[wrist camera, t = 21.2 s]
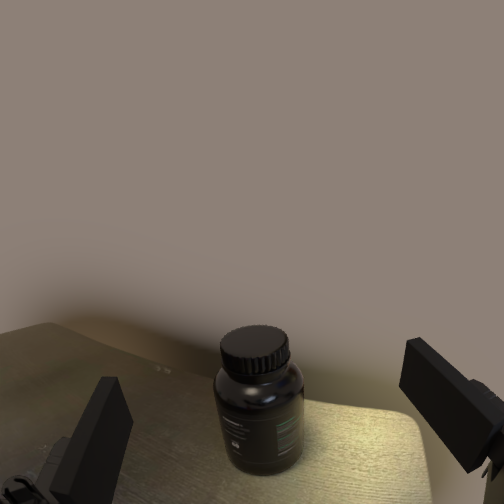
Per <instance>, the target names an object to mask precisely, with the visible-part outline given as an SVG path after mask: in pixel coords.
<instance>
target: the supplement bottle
mask: <svg viewBox="0 0 504 504" xmlns="http://www.w3.org/2000/svg"><path fill="white" fill-rule="evenodd" d="M220 349H221V356H222V357H221V362H222V367H221V368H220V370H219V371H218V373H217V374H216V376H215V379H214V383H213V390H214V396H215V401H216V406H217V411H218V416H219V421H220V425H221V430H222V434H223V439H224V443H225V447H226V451H227V455H228V457H229V459H230V461H231V462H232V463H233V464H234V465H235V466H236V467H237V468H238V469H240V470H242V471H244V472H246V473H249V474H254V475H272V474H276V473H280V472H282V471H284V470H286V469H288V468H290V467H291V466H292V465H294V464H295V463H296V462H297V460H298V459H299V457H300V456H301V454H302V450H303V441H304V381H303V375H302V373H301V371H300V369H299V368H298V366H297V365H296V364H295V363H294V362H293V361H291V360H290V359H291V358H290V357H291V355H290V350H289V339H288V337H287V334H286V333H285V332H284V331H282V330H281V329H279V328H277V327H273V326H267V325H251V326H245V327H241V328H237V329H235V330H232V331H231V332H229V333H227V334H226V335H225V336H224V337H223V338H222V339H221V342H220Z"/></svg>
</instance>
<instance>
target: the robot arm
mask: <svg viewBox="0 0 504 504" xmlns="http://www.w3.org/2000/svg"><path fill="white" fill-rule="evenodd" d="M399 387H400V389H401V390H402V391H403V392H404V393H405V395H406V396H407V397H408V399H409V400H410V401H411V402H412V404H413V405H414V406H415V407H416V408H417V410H418V411H419V412H420V413H421V415H422V416H423V417H424V419H425V420H426V421H427V422H428V423H429V425H430V426H431V427H432V429H433V430H434V431H435V432H436V434H437V435H438V436H439V438H440V439H441V440H442V441H443V442H444V444H445V445H446V447H447V448H448V449H449V450H450V452H451V453H452V454H453V455H454V457H455V458H456V459H457V461H458V462H459V463H460V465H461V466H462V467H463V469H464V470H465V471H466V472H467V474H468V473H470V472H472V471H474V470H475V469H477V468H479V467H480V466H482V464H483V462H484V461H485V459H486V457H487V456H488V457H489V458H490V460H491V461H490V463H489V464H488V466H487V468H486V469H485V471H484V472H483V474H482V478H483V477H484V476H485V475H486V473H487V472H488V474H487V482H486V489H485V495H484V502H483V504H504V402H503V401H502V400H501V399H500V398H499V397H498V396H497V397H496V394H494V393H493V392H492V391H490V389H489V388H488V387H487V386H485V385H484V384H483V383H481V382H479V381H476V380H474V379H472V380H470V381H469V380H467V378H465V377H464V376H463V375H462V374H461V373H460V372H459V371H458V370H457V369H455V368H454V367H453V366H452V365H451V364H450V363H449V362H447V361H446V360H445V359H444V358H443V357H442V356H441V355H440V354H439V353H437V352H436V351H435V350H434V349H433V348H432V347H431V346H429V345H428V344H427V343H426V342H425V341H424V340H422V339H421V338H420V337H418V338H415V339H411V340H407V343H406V349H405V355H404V361H403V367H402V372H401V378H400V383H399ZM132 426H133V419H132V417H131V414H130V412H129V409H128V406H127V404H126V401H125V398H124V395H123V393H122V390H121V387H120V384H119V381H118V378H117V377H101V379H100V381H99V383H98V385H97V387H96V389H95V391H94V392H93V394H92V396H91V398H90V400H89V402H88V404H87V406H86V408H85V410H84V412H83V414H82V417H81V419H80V421H79V423H78V425H77V427H76V429H75V431H74V433H73V435H72V437H71V438H67V437H62V438H61V439H60V440H59V441H57V442H56V443H55V444H54V446H53V448H52V450H51V452H50V456H48V458H47V460H46V463H45V464H44V466H43V468H42V470H41V472H40V475H39V477H38V479H37V481H36V483H35V485H34V484H33V482H32V481H31V480H30V479H29V478H27V477H25V476H21V475H17V476H13V477H11V478H9V479H7V480H6V481H5V483H4V484H3V487H2V495H3V496H4V497H5V498H6V499H0V504H112V500H113V496H114V492H115V488H116V484H117V480H118V476H119V472H120V469H121V465H122V461H123V457H124V454H125V450H126V447H127V443H128V439H129V436H130V432H131V429H132Z"/></svg>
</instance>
